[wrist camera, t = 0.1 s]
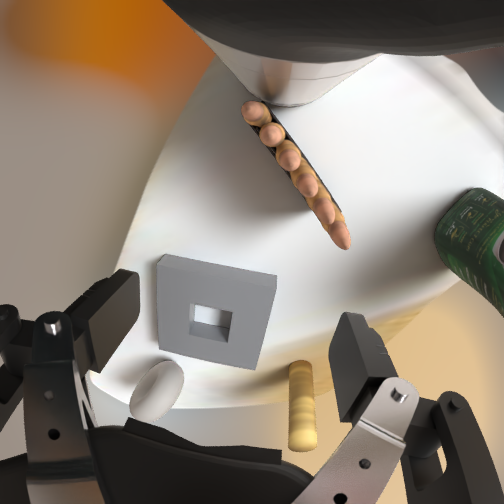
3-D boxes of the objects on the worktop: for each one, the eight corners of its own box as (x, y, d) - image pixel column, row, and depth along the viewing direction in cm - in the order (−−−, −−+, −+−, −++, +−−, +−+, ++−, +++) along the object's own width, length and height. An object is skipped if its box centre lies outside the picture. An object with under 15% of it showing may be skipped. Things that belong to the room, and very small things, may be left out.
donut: (177, 344, 35) (152, 403, 26) (197, 360, 36) (177, 419, 27) (140, 369, 39) (116, 419, 30) (157, 382, 39) (137, 433, 30)
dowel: (292, 358, 34) (292, 439, 23) (314, 361, 34) (321, 441, 23) (286, 373, 36) (285, 451, 25) (308, 376, 36) (311, 452, 25)
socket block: (165, 253, 30) (156, 264, 27) (276, 275, 29) (276, 288, 27) (165, 336, 35) (159, 349, 32) (256, 356, 35) (255, 370, 32)
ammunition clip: (247, 115, 23) (220, 105, 12) (264, 103, 23) (251, 82, 12) (316, 209, 26) (340, 269, 15) (332, 198, 26) (368, 252, 15)
